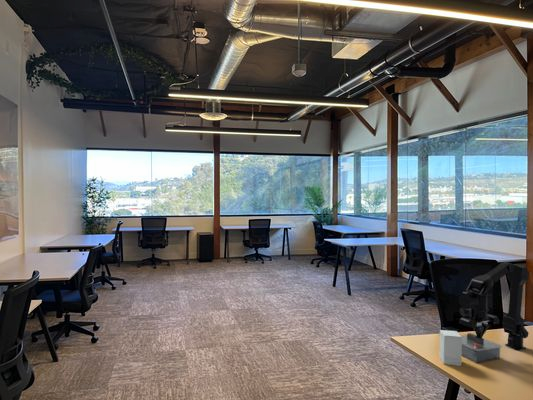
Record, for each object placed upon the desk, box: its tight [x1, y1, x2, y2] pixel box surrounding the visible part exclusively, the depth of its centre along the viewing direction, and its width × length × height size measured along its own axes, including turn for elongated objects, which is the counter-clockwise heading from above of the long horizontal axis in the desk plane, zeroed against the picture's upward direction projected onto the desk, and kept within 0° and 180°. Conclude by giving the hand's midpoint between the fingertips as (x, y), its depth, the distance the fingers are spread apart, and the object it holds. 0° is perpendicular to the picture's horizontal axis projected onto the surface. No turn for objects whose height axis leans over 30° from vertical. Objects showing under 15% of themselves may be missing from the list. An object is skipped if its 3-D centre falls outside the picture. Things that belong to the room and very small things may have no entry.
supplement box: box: [438, 329, 463, 367], centre depth 161 cm, size 7×7×13 cm
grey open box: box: [462, 345, 501, 364], centre depth 169 cm, size 14×14×5 cm
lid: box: [461, 332, 502, 352], centre depth 169 cm, size 15×15×3 cm
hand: (479, 338), depth 170 cm, fingers closed
